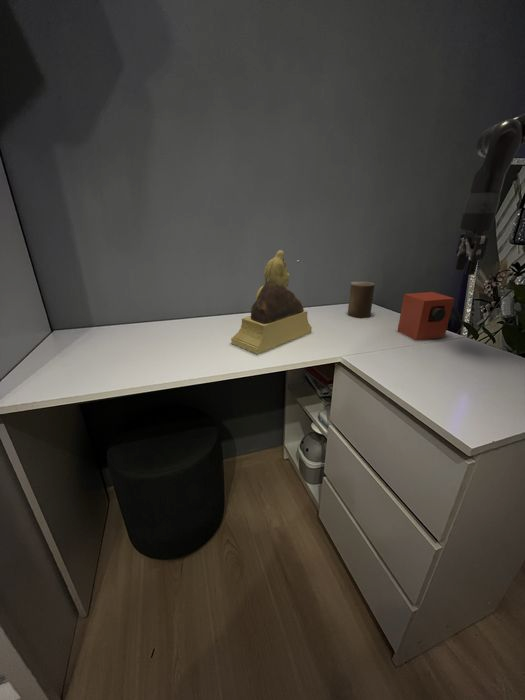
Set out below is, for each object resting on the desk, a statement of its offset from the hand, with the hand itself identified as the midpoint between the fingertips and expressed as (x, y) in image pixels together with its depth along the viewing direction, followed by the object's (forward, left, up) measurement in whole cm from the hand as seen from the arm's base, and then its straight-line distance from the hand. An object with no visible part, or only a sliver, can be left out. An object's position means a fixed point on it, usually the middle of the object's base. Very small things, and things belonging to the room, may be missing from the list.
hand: (464, 272), depth 88 cm
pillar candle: (+12, -38, -24) cm, 47 cm away
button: (0, -7, -17) cm, 19 cm away
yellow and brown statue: (+54, -17, -24) cm, 62 cm away
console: (0, -12, -24) cm, 27 cm away
